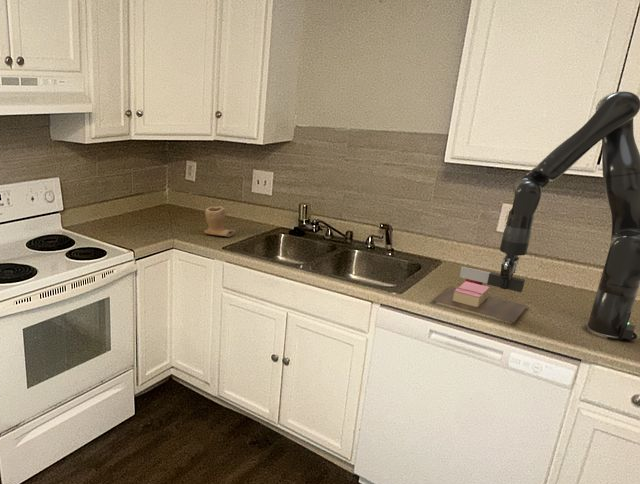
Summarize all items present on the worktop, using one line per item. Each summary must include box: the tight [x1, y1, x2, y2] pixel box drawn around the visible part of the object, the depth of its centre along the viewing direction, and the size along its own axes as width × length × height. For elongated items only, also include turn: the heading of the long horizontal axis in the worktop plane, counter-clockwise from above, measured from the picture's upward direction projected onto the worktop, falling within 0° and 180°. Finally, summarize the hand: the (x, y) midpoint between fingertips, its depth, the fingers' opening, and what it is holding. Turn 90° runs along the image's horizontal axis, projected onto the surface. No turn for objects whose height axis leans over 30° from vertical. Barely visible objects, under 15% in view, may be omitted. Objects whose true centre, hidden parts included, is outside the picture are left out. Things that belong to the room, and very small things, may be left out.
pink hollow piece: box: [204, 205, 237, 238], centre depth 267 cm, size 15×12×15 cm
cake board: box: [432, 286, 528, 324], centre depth 185 cm, size 25×20×1 cm
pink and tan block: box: [453, 289, 482, 307], centre depth 185 cm, size 8×3×4 cm, turn 45°
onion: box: [465, 268, 484, 285], centre depth 200 cm, size 6×6×8 cm
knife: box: [459, 266, 526, 293], centre depth 180 cm, size 19×2×4 cm, turn 45°
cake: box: [457, 281, 491, 304], centre depth 190 cm, size 8×9×4 cm
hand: (504, 287), depth 178 cm, fingers closed on knife, 2 cm apart
